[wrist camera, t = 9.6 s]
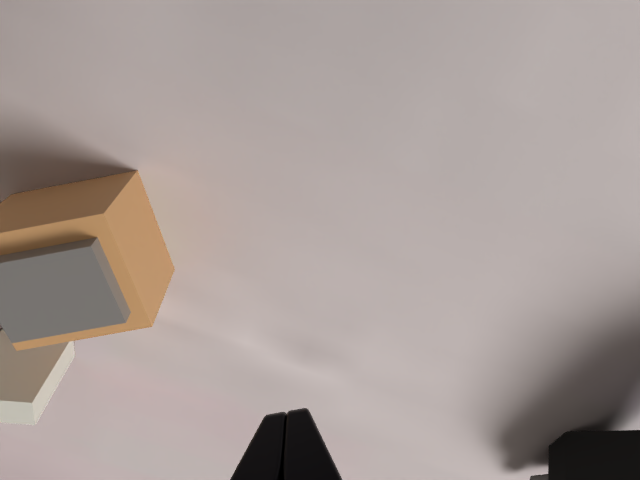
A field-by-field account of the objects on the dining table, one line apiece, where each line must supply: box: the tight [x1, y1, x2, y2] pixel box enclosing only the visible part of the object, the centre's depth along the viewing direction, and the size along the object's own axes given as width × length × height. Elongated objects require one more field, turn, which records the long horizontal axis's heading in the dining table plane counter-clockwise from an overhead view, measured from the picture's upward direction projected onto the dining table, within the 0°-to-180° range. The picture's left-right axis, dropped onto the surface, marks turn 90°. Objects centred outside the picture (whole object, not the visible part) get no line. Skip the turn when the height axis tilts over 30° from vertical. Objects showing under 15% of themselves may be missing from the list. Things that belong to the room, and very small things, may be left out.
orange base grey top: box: [0, 170, 175, 351], centre depth 18 cm, size 4×5×5 cm
